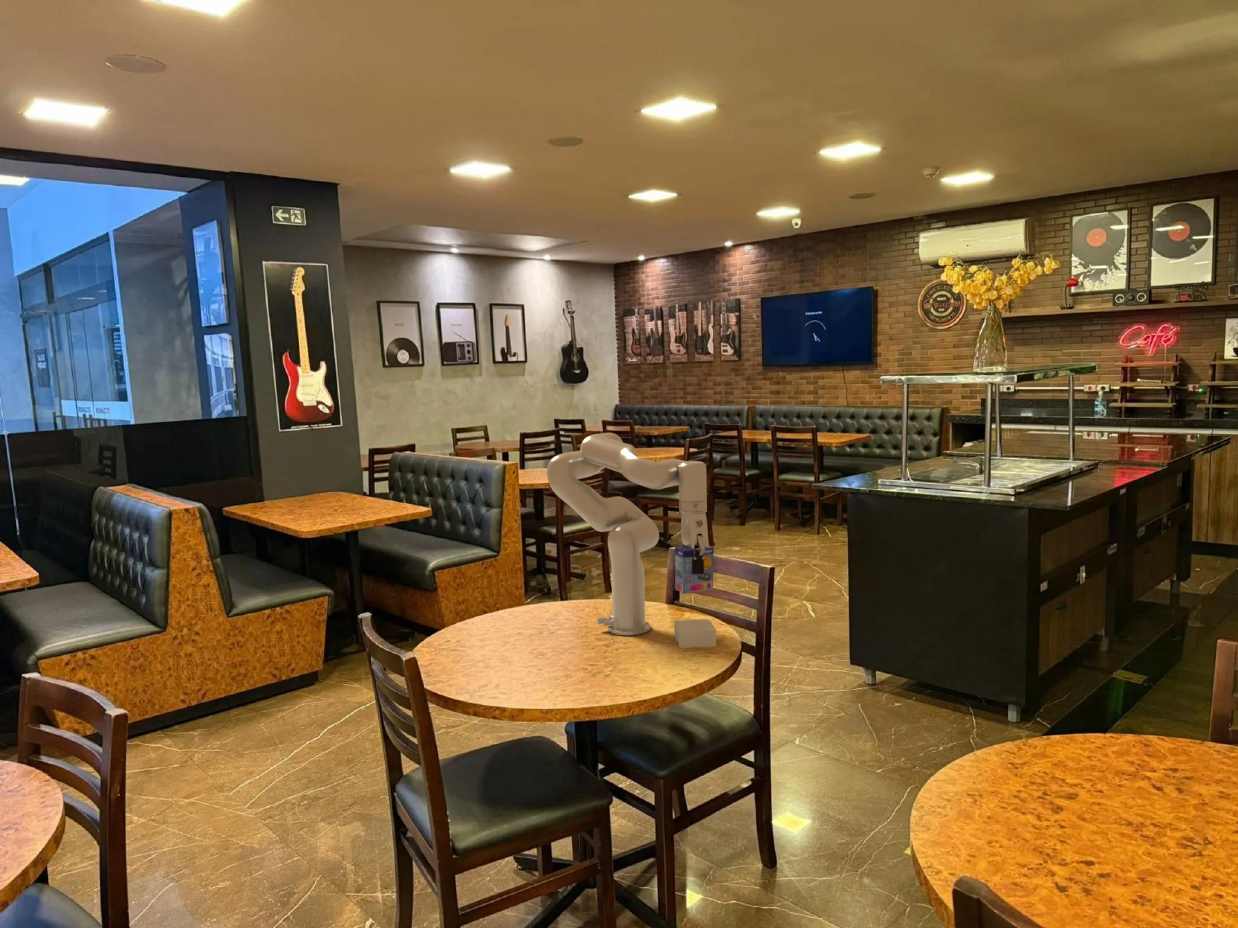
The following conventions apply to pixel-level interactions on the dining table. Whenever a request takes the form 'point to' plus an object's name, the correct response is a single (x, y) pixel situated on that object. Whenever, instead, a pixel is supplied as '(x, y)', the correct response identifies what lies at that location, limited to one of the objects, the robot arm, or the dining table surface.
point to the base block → (695, 633)
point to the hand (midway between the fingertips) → (694, 570)
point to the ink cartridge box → (683, 571)
